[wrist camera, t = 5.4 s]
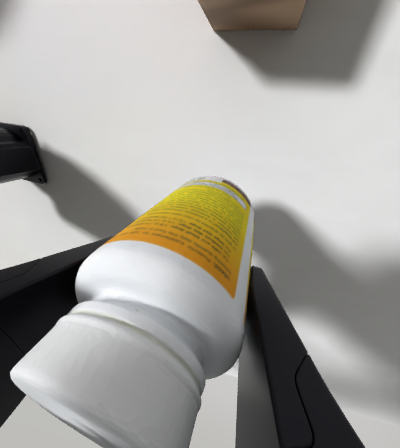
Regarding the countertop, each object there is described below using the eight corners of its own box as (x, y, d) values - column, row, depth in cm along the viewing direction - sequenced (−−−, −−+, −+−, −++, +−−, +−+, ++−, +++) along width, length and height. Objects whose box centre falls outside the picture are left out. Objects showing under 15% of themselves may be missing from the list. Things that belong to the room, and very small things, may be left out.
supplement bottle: (164, 183, 12) (-78, 324, 3) (247, 163, 10) (141, 413, 1) (188, 250, 14) (76, 436, 6) (260, 246, 12) (253, 538, 4)
